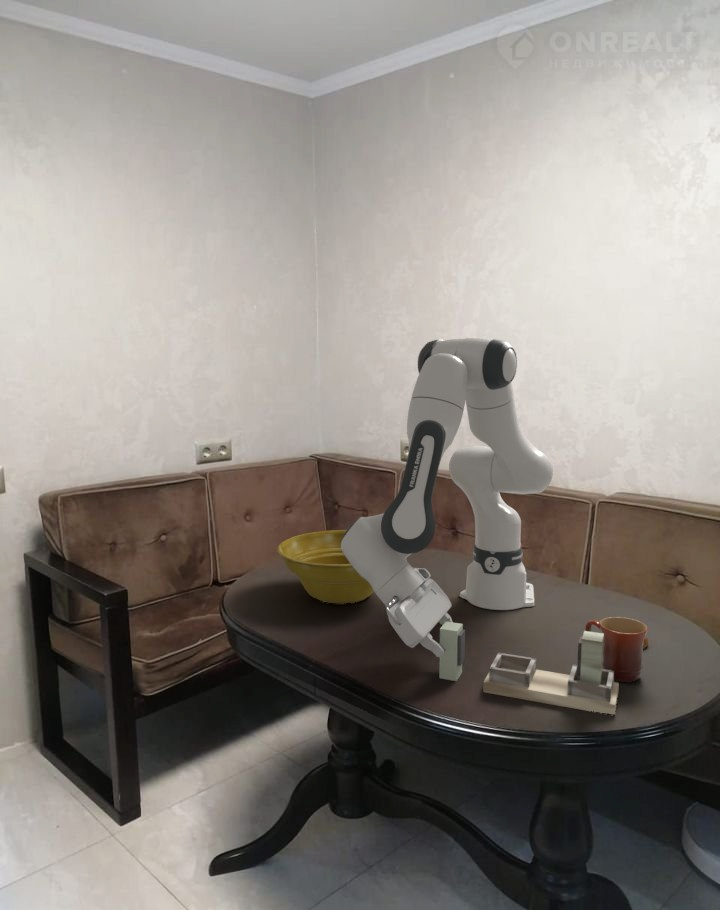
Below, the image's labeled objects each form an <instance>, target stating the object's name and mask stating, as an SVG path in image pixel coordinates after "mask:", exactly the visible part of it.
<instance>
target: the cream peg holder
mask: <svg viewBox="0 0 720 910" xmlns="http://www.w3.org/2000/svg"><path fill="white" fill-rule="evenodd" d="M603 644H604V634H603V633H602V632H595V631H591V632H589V631H585V630H583V634H582V636H579V640H578V644H577V649H578V650H577V664H572V667H571V669H570V673H569V674H566V673H560V672H553V671H548V670H547V671H546V670H543V669H537V658H535V657H531V656H530V657H527V656H522V655H518V654H517V655H516V654H510V653H509V654H508V653H503V652H498V653H497V655H495V656H496V657H495V658H494V659H493V662H492V663H491V665H490V667H489V669H488V670H489V671H488V673H487V675H486V677H485V678H484V680H483V687H482V688H483V691H482V692H483V693H486V694H492V695H498V696H503V697H509V698H513V699H514V698H515V699H518V700H519V699H520V700H525V701H530V702H536V703H541V704H548V705H553V706H559V707H564V708H570V709H575V710H581V711H587V712H591V711H592V713H596V712H600V713H599V714H602V713H609V714H615V715H616V712H615V711H616V710H617V705H616V704H618V699H617V698H618V697H619V689H620V688H619V686H620V685H619V683H620V682H617V681H615V680H614V671H612V670H606V669H602V666H603ZM593 711H594V712H593Z"/></svg>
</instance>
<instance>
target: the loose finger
mask: <svg viewBox="0 0 720 910" xmlns="http://www.w3.org/2000/svg"><path fill="white" fill-rule="evenodd" d="M463 627H464V624H463V623H458V622H445V623H444V624H442V626H441V627H440V628H439V643H441V644H442V645H443V647H444V648H445V649H446V650H445V652H444V654H443V655H441V656H440V657H439V667H438V669H439V671H438V673H439V675H438V676H439V679H442V680H446V681H447V680H448V681H453V682H457V681H458V680H459V678H460V676H461V675H462V673H463V662H464V661H465V659H466V658H465V657H466V655H465V654H466V653H465V652H466V629H464V628H463Z"/></svg>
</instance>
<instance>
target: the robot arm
mask: <svg viewBox="0 0 720 910" xmlns="http://www.w3.org/2000/svg"><path fill="white" fill-rule="evenodd" d="M517 367H518V357H517V353H516V350H515V349H514V348H513V346H512V345H511V344H510V343H509V342H507V341H505V340H500V339H496V338H494V339H486V338H485V339H484V338H476V337H465V338H453V339H452V338H451V339H442V338H441V339H434V340H431V341H429V342H428V341H427V343H425V344H424V346H423V347H422V348H421V350H420V351H419V353H418V357H417V371H418V376H417V378H416V381H415V384H414V388H413V390H412V394H411V398H410V401H409V407H408V412H407V413H408V414H407V423H406V434H407V440H408V454H407V458H406V463H405V465H404V466H405V467H404V471H403V476H402V479H401V483H400V487H399V489H398V492H397V495H396V497H394V499H393V501H392V502H391V503H390V504H389V505H388V506H387V508H386V510H385V511H384V512H383V513H380V514H376V515H372V516H370V515H369V516H360V517H358V518H356V519H355V520H354V522H352V523H351V525H350V526H349V527H348V528H347V529H346V530H347V531H346V532H345V533H344V535H343V537H342V540H341V549H342V551H343V553H344V555H345V557H346V558H347V560H348V561H349V562H350V564H351V565H352V566H353V568H354V569H355V570H356V571H357V572H358V574H359V575H360V576H361V577H362V578H364V579H365V580H367V581H368V582H369V583H370V585H371V587H372V589H373V591H374V592H373V593H374V594H375V595H376V596H377V597H378V598H379V599H380V600H381V602H382V603H383V604H384V605H385V608H386V609H385V610H386V614H387V617H388V621H389V623H390V625H391V627H392V628H393V629H394V631H395V632H396V633H397V635H398V637H399V638H400V639H401V640H402V642H404V643H403V644H405V646H407V647H409V648H411V649H413V648H415V647H416V646H417V645H419V644H420V645H422V646H423V648H425V649H426V650H429V651H430V652H432V654H434V655H435V657H436V658H440V656H441V655H443V654H444V652H445V650H446V649H445V648H444V647H443V645H442V644H441V643H440V642H439V643H438V642H437V641H436V640H435V639H433V636H432V634H431V633H430V632H431V631H432V630H433V629H434V628H435V626H437V624H438V623H439V624H440V625H443V624H444V623H445V622H453V620H452V617H451V615H450V614H449V613H448V612H449V610H450V609H451V608H452V602H451V601H450V598H449V597H448V595H447V594H446V593H445V591H444V590H443V589H442V588H441V586H439V584H437V582H436V581H435V580H433V579H432V578H430V577H432V576H431V573H430V572H429V571H428V569H427V568H424V567H422V568H420V567H419V568H418V567H413V566H412V565H410V563H409V562H408V561H407V558H408V557H409V556H411V555H412V554H416V553H419V552H422V551H423V550H425V549H427V547H428V546H429V545H430V544H431V542H432V541H433V538H434V537H435V531H436V520H435V514H434V511H433V505H432V504H433V494H434V490H435V485H436V481H437V476H438V473H439V469H440V464H441V461H442V459H443V456H444V455H445V453H446V451H447V450H448V448H449V447H450V446H451V445H452V444H453V442H454V441H455V438H456V437H457V436H456V435H457V433H458V430H459V428H460V425H461V422H462V418H463V415H464V409H465V405H466V412H467V418H468V425H469V430H470V432H471V433H472V435H473V436H474V438H476V439H478V440H479V441H481V442H482V443H483V444H485V445H487V446H485V445H472V446H464V447H459V448H457V449H456V450H454V452H453V454H451V457H450V460H449V464H448V472H449V476H450V478H451V480H452V481H453V483H454V484H455V485H456V486H457V487H459V489H461V490H462V492H463V494H465V496H466V498H467V499H468V501H469V503H470V505H471V508H472V512H473V516H474V526H475V527H474V529H475V531H474V532H475V536H474V537H475V540H474V541H475V543H474V544H473V550H472V554H473V555H472V557H473V558H472V559H473V561H472V562H471V563H470V564H469V565H468V566H467V568H466V582H465V583H466V584H465V589H464V590H462V591H460V593H459V597H460V598H462V599H465V600H467V602H468V603H470V604H471V605H473V606H476V607H478V608H482V609H487V610H493V611H494V610H496V611H509V610H516V609H520V608H530V607H535V591H534V585H533V584H532V583H530V582H527V571H526V567H525V565H524V563H523V556H524V555H523V547H522V542H521V539H522V538H521V536H522V535H521V533H522V531H521V529H522V520H521V517H520V515H519V513H518V511H516V510H515V509H514V508H513V507H511V506H510V505H508V504H507V503H506V502H505V501H504V500H503V498H502V496H501V493H506V494H515V495H532V494H541V493H543V492H544V491H545V490H546V489H547V488H548V487H549V486H550V484H551V482H552V479H553V475H554V473H553V472H554V471H553V465H552V461H551V460H550V458H549V457H548V456H547V455H546V453H544V452H542V451H540V450H539V449H538V448H537V447H535V445H534V444H532V443H531V441H529V440H528V438H527V436H526V435H525V434H524V432H523V431H522V429H521V426H520V424H519V421H518V415H517V411H516V405H515V398H514V397H515V396H514V392H513V384H512V382H513V380H514V378H515V377H516V373H517ZM453 623H454V622H453Z"/></svg>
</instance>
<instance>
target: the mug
mask: <svg viewBox="0 0 720 910" xmlns="http://www.w3.org/2000/svg"><path fill="white" fill-rule="evenodd" d="M592 626H595V627H597V628H598V629H599V630H600V633H603V634H604V644H603V666H602V669H606V670H612V671H614V682H619V681H620V682H619V683H631V682H632V681H633V682H635V681H636V680H639V679H640V677H641V674H642V670H643V660H644V659H643V654H644V653H643V642H644V638H645V636H646V637H647V633H648V630H649V628H648V626H647V624H645V623H644V622H642V621H639V620H638V619H634V618H629V617H624V616H623V617H622V616H612V617H611V616H610V617H605V618H603V619H601V620H597V619H592V620H589V621H588V622H587V623H586V624H585V627H584V631H589V632H592ZM633 682H632V683H633Z"/></svg>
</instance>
